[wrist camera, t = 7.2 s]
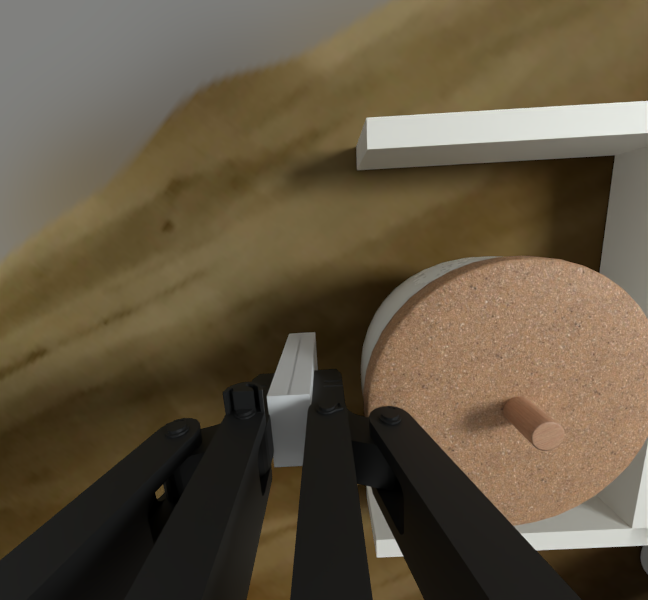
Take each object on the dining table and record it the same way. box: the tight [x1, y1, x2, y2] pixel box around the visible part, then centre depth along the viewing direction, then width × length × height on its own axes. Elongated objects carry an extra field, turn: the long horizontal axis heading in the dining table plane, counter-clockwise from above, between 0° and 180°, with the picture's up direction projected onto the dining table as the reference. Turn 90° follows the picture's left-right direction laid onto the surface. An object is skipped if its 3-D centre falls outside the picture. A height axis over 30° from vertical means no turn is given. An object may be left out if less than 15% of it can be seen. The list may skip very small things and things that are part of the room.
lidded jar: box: [361, 256, 648, 526], centre depth 14 cm, size 11×11×9 cm
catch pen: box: [356, 101, 648, 557], centre depth 16 cm, size 15×22×4 cm
